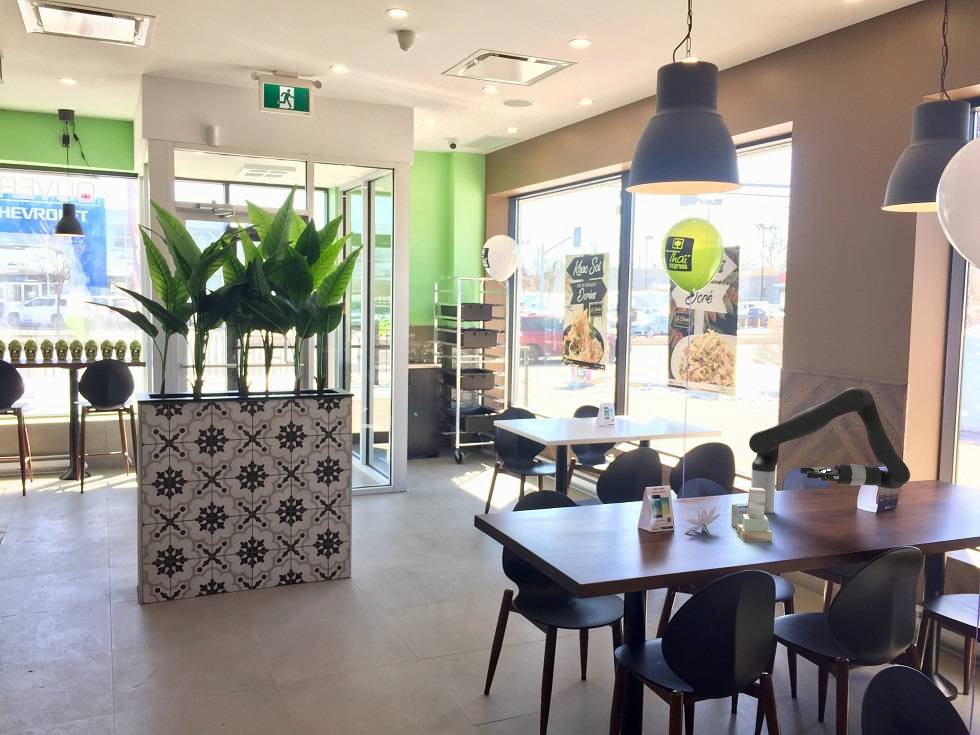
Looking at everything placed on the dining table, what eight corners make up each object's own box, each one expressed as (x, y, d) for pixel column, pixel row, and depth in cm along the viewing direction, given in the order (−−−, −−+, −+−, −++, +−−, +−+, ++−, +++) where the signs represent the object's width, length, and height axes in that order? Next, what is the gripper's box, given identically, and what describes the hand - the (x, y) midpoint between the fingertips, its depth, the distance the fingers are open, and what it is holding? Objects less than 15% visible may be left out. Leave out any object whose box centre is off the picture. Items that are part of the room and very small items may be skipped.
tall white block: (747, 514, 304) (749, 487, 303) (761, 515, 303) (763, 488, 302) (749, 517, 299) (751, 490, 298) (763, 518, 298) (765, 491, 298)
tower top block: (742, 524, 306) (742, 513, 305) (765, 526, 304) (765, 515, 304) (744, 530, 298) (744, 518, 298) (767, 531, 296) (768, 520, 296)
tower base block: (736, 534, 307) (737, 524, 306) (764, 535, 306) (765, 525, 306) (743, 542, 297) (743, 531, 296) (771, 543, 296) (772, 532, 296)
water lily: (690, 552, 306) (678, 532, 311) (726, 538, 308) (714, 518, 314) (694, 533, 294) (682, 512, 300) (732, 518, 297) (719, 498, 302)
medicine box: (737, 529, 314) (738, 506, 313) (730, 526, 318) (731, 503, 318) (755, 527, 316) (756, 505, 315) (749, 525, 320) (749, 502, 320)
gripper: (843, 460, 309) (798, 458, 311) (857, 468, 295) (810, 465, 296) (842, 480, 310) (797, 478, 311) (855, 489, 296) (808, 486, 297)
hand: (803, 472), depth 304 cm, fingers open, 8 cm apart
